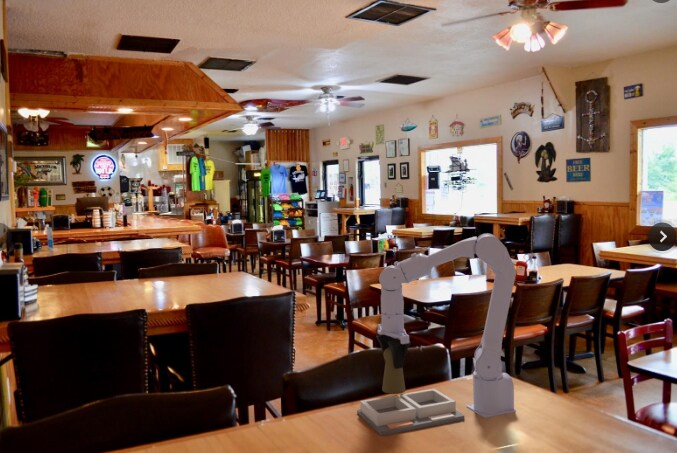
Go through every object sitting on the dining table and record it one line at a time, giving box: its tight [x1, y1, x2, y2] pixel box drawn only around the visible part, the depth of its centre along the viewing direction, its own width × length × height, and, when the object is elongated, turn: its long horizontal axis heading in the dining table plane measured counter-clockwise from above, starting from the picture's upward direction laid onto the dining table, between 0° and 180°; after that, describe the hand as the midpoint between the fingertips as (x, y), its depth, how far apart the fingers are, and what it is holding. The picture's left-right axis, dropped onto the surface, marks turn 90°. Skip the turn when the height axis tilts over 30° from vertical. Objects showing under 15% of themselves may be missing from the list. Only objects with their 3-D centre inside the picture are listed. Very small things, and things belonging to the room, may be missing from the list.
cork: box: [381, 347, 406, 395], centre depth 143 cm, size 6×6×11 cm
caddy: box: [356, 388, 465, 437], centre depth 135 cm, size 22×14×4 cm, turn 111°
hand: (393, 364), depth 143 cm, fingers closed on cork, 5 cm apart
